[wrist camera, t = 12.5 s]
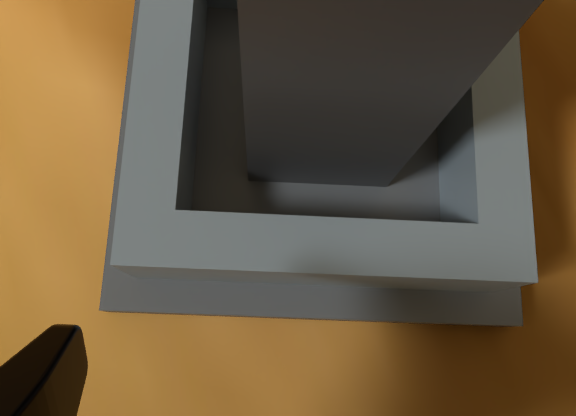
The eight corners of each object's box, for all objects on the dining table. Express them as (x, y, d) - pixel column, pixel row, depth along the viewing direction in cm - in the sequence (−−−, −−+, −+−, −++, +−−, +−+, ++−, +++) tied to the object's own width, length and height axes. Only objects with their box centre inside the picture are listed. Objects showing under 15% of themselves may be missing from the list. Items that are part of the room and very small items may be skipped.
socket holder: (508, 326, 18) (579, 323, 14) (108, 312, 17) (64, 303, 13) (487, -18, 21) (539, -100, 17) (147, -40, 20) (121, -130, 16)
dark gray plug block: (386, 186, 18) (641, -116, 6) (248, 180, 17) (227, -145, 6) (384, 62, 19) (597, -404, 7) (254, 54, 18) (248, -437, 7)
